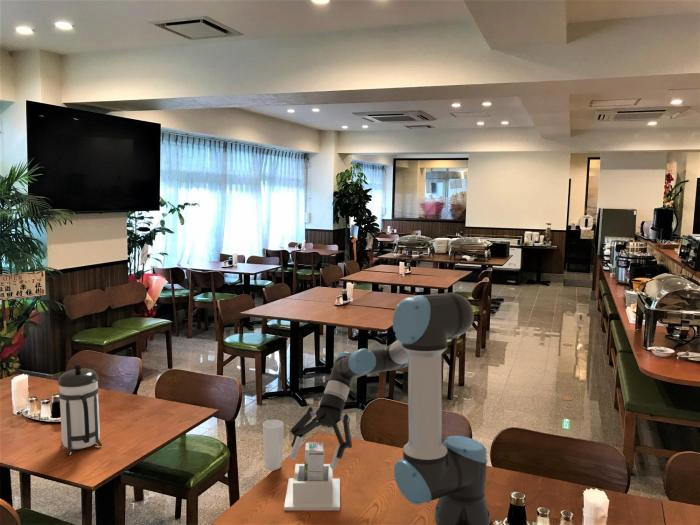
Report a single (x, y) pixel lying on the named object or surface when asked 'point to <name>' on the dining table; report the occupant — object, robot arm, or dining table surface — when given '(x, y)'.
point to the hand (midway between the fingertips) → (311, 463)
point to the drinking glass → (273, 443)
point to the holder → (313, 491)
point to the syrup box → (314, 461)
